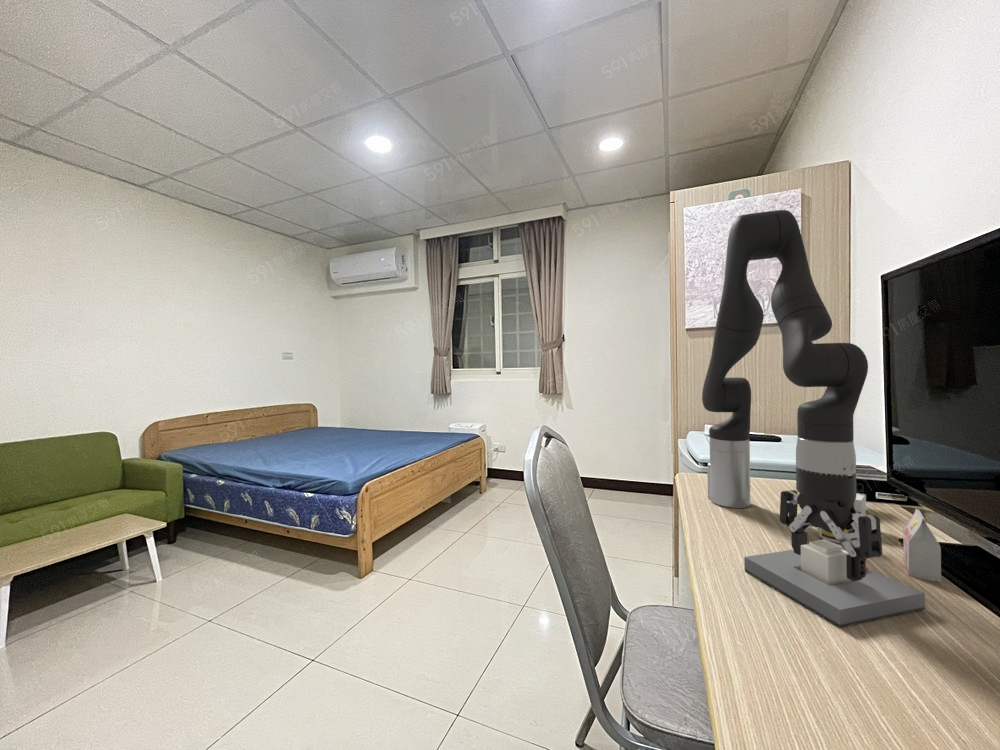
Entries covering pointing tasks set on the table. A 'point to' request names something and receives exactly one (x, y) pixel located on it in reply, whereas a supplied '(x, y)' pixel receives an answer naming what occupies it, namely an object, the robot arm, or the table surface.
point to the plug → (824, 562)
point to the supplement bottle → (829, 535)
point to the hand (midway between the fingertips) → (826, 565)
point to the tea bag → (921, 549)
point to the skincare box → (860, 505)
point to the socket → (836, 590)
